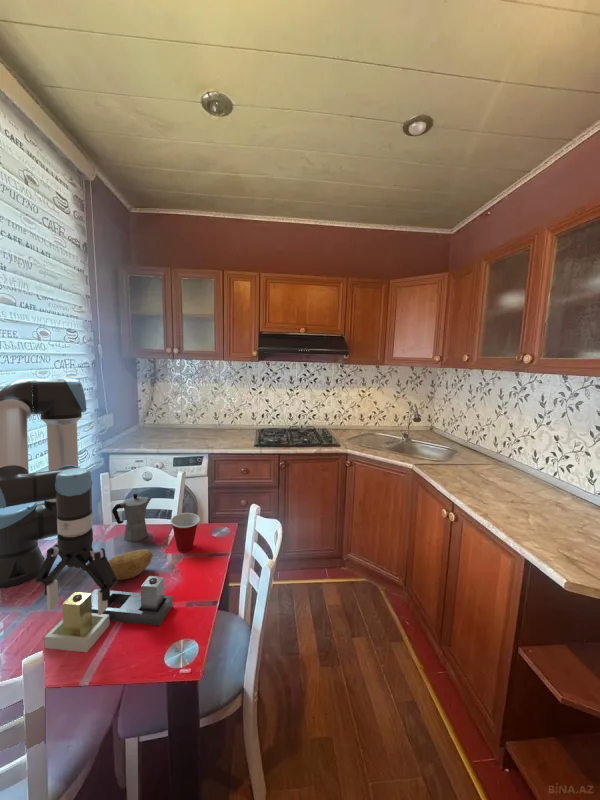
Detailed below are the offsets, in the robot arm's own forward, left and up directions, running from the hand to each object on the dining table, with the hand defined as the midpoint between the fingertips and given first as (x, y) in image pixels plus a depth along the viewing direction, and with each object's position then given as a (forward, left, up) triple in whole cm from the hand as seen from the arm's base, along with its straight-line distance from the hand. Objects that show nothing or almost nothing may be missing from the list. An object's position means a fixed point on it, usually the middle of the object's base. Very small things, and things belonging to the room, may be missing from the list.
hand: (77, 608), depth 89 cm
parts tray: (0, 0, -8) cm, 8 cm away
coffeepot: (-14, +50, -8) cm, 53 cm away
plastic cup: (+10, +45, -8) cm, 47 cm away
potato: (-1, +26, -8) cm, 27 cm away
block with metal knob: (0, 0, -7) cm, 7 cm away
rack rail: (+7, +10, -8) cm, 14 cm away
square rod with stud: (+15, +10, -8) cm, 20 cm away
